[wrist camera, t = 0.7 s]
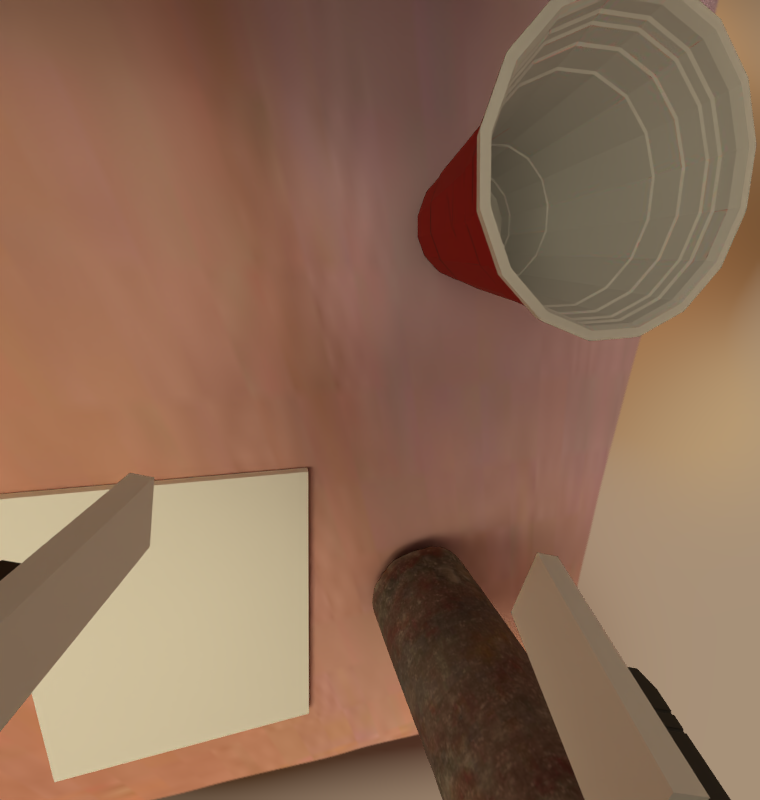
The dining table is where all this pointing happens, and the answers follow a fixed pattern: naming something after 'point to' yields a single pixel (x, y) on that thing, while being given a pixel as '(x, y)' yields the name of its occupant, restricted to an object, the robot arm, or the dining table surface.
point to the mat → (179, 620)
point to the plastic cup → (601, 168)
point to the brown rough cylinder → (469, 685)
